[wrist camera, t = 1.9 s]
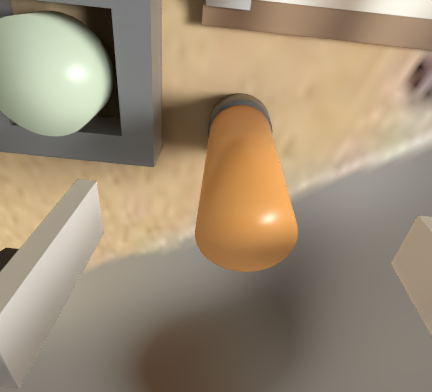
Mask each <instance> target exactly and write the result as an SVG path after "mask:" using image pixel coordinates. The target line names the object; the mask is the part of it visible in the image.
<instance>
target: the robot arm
mask: <svg viewBox="0 0 432 392" xmlns="http://www.w3.org/2000/svg"><path fill="white" fill-rule="evenodd" d="M103 234H104V230H103V223H102V216H101V209H100V202H99V195H98V187H97V181H91V180H82V179H77V181H76V182H75V183H74V184H73V185H72V186H71V188H70V189H69V190H68V191H67V192H66V194H65V195H64V196H63V197H62V198H61V200H60V201H59V202H58V203H57V204H56V206H55V207H54V208H53V209H52V210H51V212H50V213H49V214H48V215H47V216H46V218H45V219H44V220H43V221H42V222H41V224H40V225H39V226H38V227H37V228H36V230H35V231H34V232H33V233H32V234H31V236H30V237H29V238H28V239H27V240H26V242H25V243H24V244H23V245H22V246H21V248H20V249H13V248H5V249H3V250H2V251H0V387H4V388H15V389H19V388H20V386H21V385H22V383H23V381H24V379H25V377H26V376H27V374H28V372H29V370H30V368H31V366H32V364H33V363H34V361H35V359H36V357H37V355H38V353H39V352H40V350H41V348H42V346H43V344H44V342H45V341H46V339H47V337H48V335H49V333H50V331H51V329H52V328H53V326H54V324H55V322H56V320H57V318H58V317H59V315H60V313H61V311H62V309H63V307H64V305H65V304H66V302H67V300H68V298H69V296H70V295H71V293H72V291H73V289H74V287H75V285H76V283H77V282H78V280H79V278H80V276H81V274H82V272H83V271H84V269H85V267H86V265H87V263H88V261H89V260H90V258H91V256H92V254H93V252H94V250H95V248H96V247H97V245H98V243H99V241H100V239H101V237H102V236H103ZM391 265H392V266H393V268H394V270H395V272H396V274H397V275H398V277H399V279H400V281H401V282H402V284H403V286H404V288H405V290H406V291H407V293H408V295H409V297H410V298H411V300H412V302H413V304H414V305H415V307H416V309H417V311H418V313H419V315H420V316H421V318H422V320H423V322H424V323H425V325H426V327H427V329H428V330H429V332H430V334H431V336H432V217H426V216H418V217H417V219H416V220H415V222H414V224H413V226H412V227H411V229H410V231H409V233H408V235H407V236H406V238H405V240H404V242H403V243H402V245H401V247H400V248H399V250H398V252H397V254H396V256H395V257H394V259H393V261H392V262H391Z"/></svg>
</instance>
